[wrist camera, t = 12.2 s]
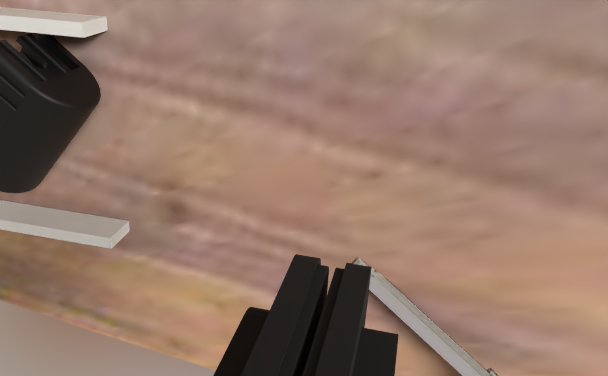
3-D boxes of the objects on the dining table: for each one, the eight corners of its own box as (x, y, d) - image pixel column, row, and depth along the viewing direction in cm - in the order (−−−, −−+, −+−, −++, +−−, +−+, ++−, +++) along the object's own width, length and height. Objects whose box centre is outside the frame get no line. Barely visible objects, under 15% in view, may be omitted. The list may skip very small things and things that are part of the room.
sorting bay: (-81, -1, 42) (-116, 4, 39) (106, 16, 39) (82, 22, 36) (-29, 204, 50) (-56, 219, 47) (129, 230, 47) (111, 248, 44)
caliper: (550, 400, 45) (565, 466, 40) (540, 406, 46) (554, 472, 40) (358, 255, 43) (347, 303, 38) (350, 263, 44) (337, 312, 38)
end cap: (62, 171, 46) (6, 207, 40) (-5, 113, 45) (-72, 141, 39) (121, 91, 42) (68, 118, 36) (48, 24, 41) (-19, 41, 35)
